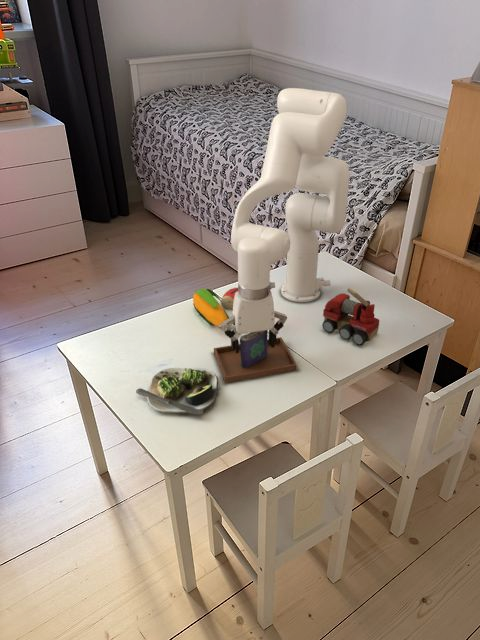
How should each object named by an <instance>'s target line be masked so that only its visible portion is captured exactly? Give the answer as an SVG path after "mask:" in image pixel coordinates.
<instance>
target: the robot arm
mask: <svg viewBox="0 0 480 640" xmlns="http://www.w3.org/2000/svg"><path fill="white" fill-rule="evenodd" d="M276 106H277V112H278V114H275V116H274V118H272V121H271V124H270V129H269V134H268V139H267V143H266V150H265V154H264V160H263V165H262V168H261V169H262V170H261V175H260V178H259V179H258V180H257V181H256V182H255V183H254V184H253V185H251V187H249V189H248V190H247V191H246V192H245V193H244V195H243V196H242V197H241V198H240V200H239V202H238V204H237V206H236V208H235V211H234V215H233V222H232V227H231V232H230V233H231V234H230V244H231V247H232V249H233V251H234V252H235V253H237V288H238V292H236V293H235V297H234V303H233V308H232V316H230V317H229V319H227V320H226V321H224V322H222V323H221V324H220V327H219V328H220V329H221V331H222V332H223V333H224V335H225V336H226V337H227V338H228V339H230V345H231V347H232V349H234V350H235V352H236V353H239V344H240V340H239V337H241V335H242V334H243V335H244V334H248V333H251V332H257V331H264V330H268V339H269V343H270V345H271V347H272V348H273V347H275V343H276V338H278V337H277V335H278V334H279V331H280V330H282V328H283V327H284V324H285V323H286V321H287V320H288V317H287V315H286V314H285V313H283V312H279V311H276V310H275V305H274V297H273V294H272V289H274V288H276V283H275V282H274V281H273V282H272V281H271V280H270V279H271V278H270V277H271V274H270V273H271V266H272V265H273V264H276V263H278V262H280V261H281V260H282V259H283V258H285V257H286V276H285V282H284V283H283V284H282V285H281V286H280V294H281V296H283V298H285V299H286V300H288V301H291V302H296V303H308V302H309V303H310V302H312V301H316V300H317V299H318V298H319V297H320V295H321V289H322V288H323V287H330V286H331V283H332V282H331V280H330V279H324V277H323V276H322V277H317V275H318V264H319V249H320V240H319V237H318V233H317V231H318V232H324V233H328V234H329V233H330V234H338V233H340V232H341V231H342V230H343V228H344V226H345V223H346V218H347V209H348V198H349V187H350V168H349V165H348V163H347V162H346V161H345V160H343V159H340V158H336V157H329V156H325V155H326V154H327V153H328V152H329V151H330V150H331V148H332V146H333V145H334V143H335V141H336V139H337V137H338V135H339V133H340V132H341V130H342V128H343V127H344V124H345V121H346V118H347V111H348V105H347V100H346V99H345V97H344V96H343V95H342V94H341V93H337V92H332V91H324V90H316V89H315V90H314V89H307V88H301V87H300V88H299V87H298V88H297V87H287V88H284V89H282V90H280V91H279V92H278V95H277V97H276ZM294 189H297V190H299V191H301V192H296V193H293V194H291V195H290V196H289V197H288V198H287V200H286V202H285V206H284V207H285V208H284V209H285V212H284V213H285V221H286V228H287V230H284V229H281V228H277V227H272V226H267V225H263V224H262V225H260V224H256V223H250V219H251V215H252V213H253V211H254V210H255V208H256V207H257V206H258V205H259V204H260V203H261V202H263V201H265V200H267V199H269V198H271V197H274V196H277V195H281V194H284V193H288V192H291V191H292V190H294ZM305 192H308V193H305ZM318 194H319V195H318ZM324 195H326V196H324ZM276 319H278V320H277V321H275V320H276ZM230 325H231V326H232V325H233V327H232V328H231V329H229V327H231V326H230Z"/></svg>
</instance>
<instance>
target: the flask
mask: <svg viewBox="0 0 480 640" xmlns="http://www.w3.org/2000/svg"><path fill="white" fill-rule="evenodd" d="M268 332H269V330H264V331H257V332H250V333H245V334H243V335H240V338H239V344H240V351H241V353H240V355H241V367H242V368H243V369H248V368H250V367H253V366H254V365H256V364H258V363H259V362H261V361H262V360H263V359H264V358H266V356H267V353H268V352H267V339H268Z"/></svg>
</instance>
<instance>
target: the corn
mask: <svg viewBox="0 0 480 640" xmlns="http://www.w3.org/2000/svg"><path fill="white" fill-rule="evenodd" d="M194 292H195V293H194V294H193V296H192V303H193V307H194V310H196V312H197V314H198V315H199V316H200V317H201V318H202V319H203V320H204V321H205V322H206V323H207V324H209V325H210V326H213V325H214V326H215V327H219V328H221V327H220V324H221V323H222V322H224V321H226V320H227V319H229V318H230V316H229V314H228V313H227V312H226V311H225V309H224V307H223V306H222V304H223V303H222V301H221V300H222V298H221V297H220V296H219V295H218V294H217V293H216V292H214V291H213V290H212V289H209V288H201V289H197V290H195V291H194ZM219 301H220V302H219ZM221 303H222V304H221ZM231 326H232V325H230V326H229V327H231Z"/></svg>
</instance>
